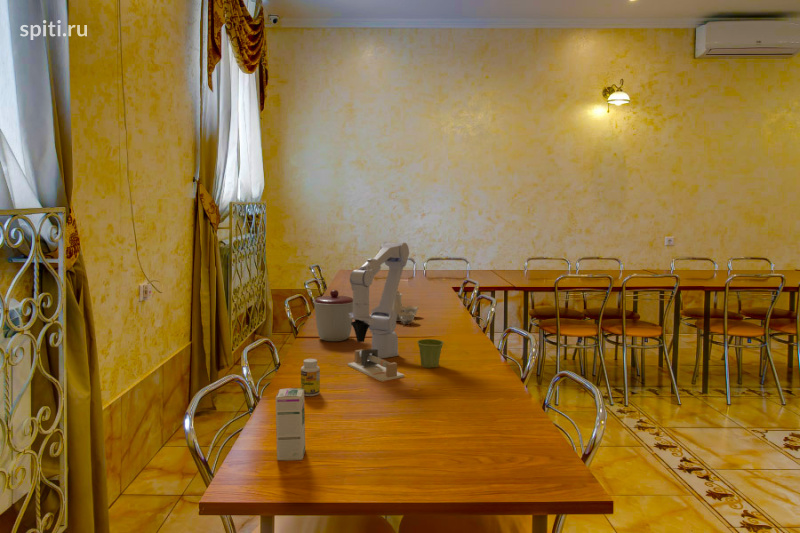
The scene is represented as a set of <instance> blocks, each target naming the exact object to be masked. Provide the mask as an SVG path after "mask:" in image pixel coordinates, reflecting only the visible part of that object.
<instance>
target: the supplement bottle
mask: <svg viewBox="0 0 800 533" xmlns="http://www.w3.org/2000/svg"><path fill="white" fill-rule="evenodd" d="M320 371H321V369H320V366H318V360H317V359H316V358H306V359H303V365H302V366H301V367H300V388H301V389H304V397H305V396H306V397H315V396H318V395H319V394H320V391H321V390H320V388H321V387H320V381H321V374H320V373H321V372H320Z"/></svg>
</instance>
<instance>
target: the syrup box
mask: <svg viewBox="0 0 800 533" xmlns="http://www.w3.org/2000/svg"><path fill="white" fill-rule="evenodd" d="M305 414H306V413H305V396H304V389H301V387H300V388H299V387H298V388H297V387H290V388H289V387H288V388H279V389H278V392H277V393H276V396H275V426H276V429H275V431H276V435H275V436H276V437H275V438H276V460H277V461H303V458H304V455H305V452H306V421H305V420H306V417H305Z"/></svg>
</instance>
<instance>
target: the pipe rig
mask: <svg viewBox="0 0 800 533" xmlns="http://www.w3.org/2000/svg"><path fill="white" fill-rule="evenodd" d="M361 350H364V349H362V348H361V349H355V350H354V361H353V362H348V363H347V366H348V367H351V368H352V369H354V370H356V371H359V372H361V373H362V374H365V375H367V376H369V377H371V378H373V379H376V380H378V381H380V382H385V381H386V382H387V381H390V380H395V379H399V378H405V374H404V373H402V372H399V371H398V363H397V362H394V361H393V362H390V361H388V360H386V359H384V358H381V359H380V358H378V357H375V356H373V355H370V354H367V361H372V362H374V363H377V365H371V366H363V365H361Z"/></svg>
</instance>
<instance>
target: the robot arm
mask: <svg viewBox="0 0 800 533" xmlns="http://www.w3.org/2000/svg"><path fill="white" fill-rule="evenodd" d="M409 256H410V248H409V246H408V243H406V242H391V241H390V242H388V241H384V242H383V243H382V244H381V245H380V248H379V251H378V253H377V254H375V256H374V257H373V258H367V259H366V261H365V262H364V263H363V265H361V266H360V267H359V268H358V269H354V270H352V271H351V272H350V276H349V283H350V285H351V291H352V299H353V313H348V318H349V319H352V320H354V321H352V322H351V324H352V327H353V330H354V333H355V337H356V341H357V342H358V343H362V342H365V340H366V335H367V331H368V330H369V331H370V333H371V349H373V348H375V349H377V350H378V358H380V359H386V358H392V357H397V356H400V354H399V337H398V334H397V333H396V332H395V330H396V327H397V322H396V319H397V315H396V313H395V312H394V311H393V310H392V308H393V304H394V300H395V297H396V293H397V291H398V289H399V285H400V282H401V278H402V274H403V271H404V268H405V267H406V266H407V263H408V260H409ZM383 264H385V266H387V267H388V272H387V275H386V276H387V277H386V279H385V283H384V286H383V291H382V294H381V298H380V301H379V303H378V306H375V307H374V308H373V309H372V310H371V312H370V286H371V285H372V284H373V280H374V278H375V276H376V275H377V274H378V273H379V272H380V270H381V268H382V267H381V266H382V265H383ZM370 355H372V354H370Z"/></svg>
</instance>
